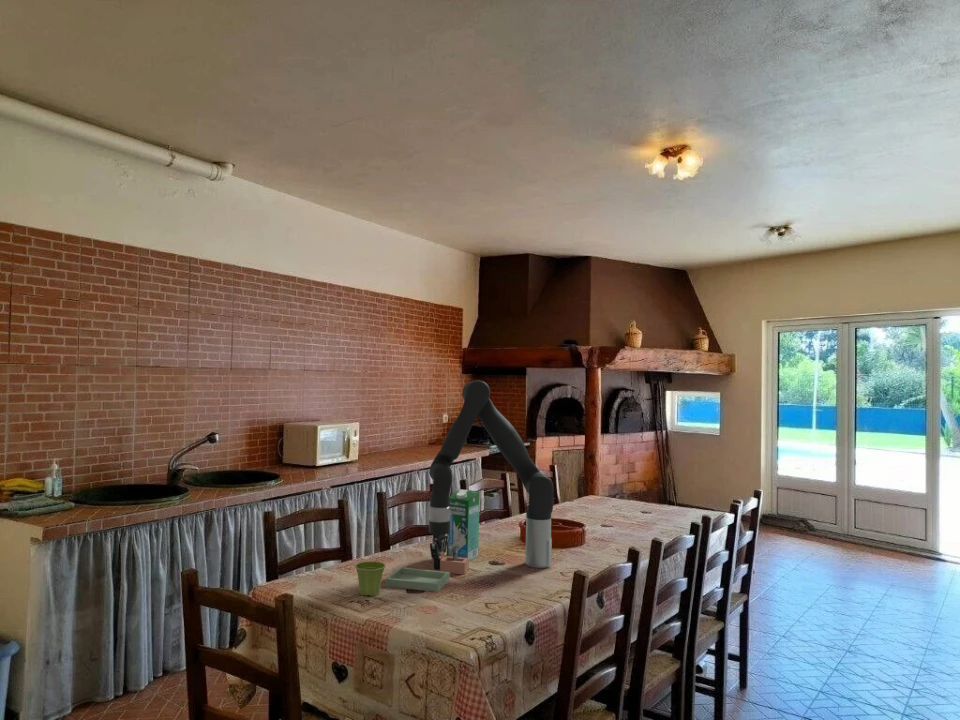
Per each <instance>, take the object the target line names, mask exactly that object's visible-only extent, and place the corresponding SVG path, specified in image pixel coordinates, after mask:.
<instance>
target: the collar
mask: <svg viewBox="0 0 960 720" xmlns="http://www.w3.org/2000/svg"><path fill="white" fill-rule="evenodd" d="M435 555H436V553H435ZM469 570H470V561H469V558H460V557H457V561H453V557H449V556H447V555H445V553H444V551H442V552H441V558H440V569H439V570H437V569H434V558H432V571H442V572H450V574H456V575H457V574H458V575H465V574H466V573H468V571H469Z"/></svg>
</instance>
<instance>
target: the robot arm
mask: <svg viewBox="0 0 960 720" xmlns="http://www.w3.org/2000/svg"><path fill="white" fill-rule="evenodd" d="M461 391H462V393H461V394H462V399H463V404H462V407H461V410H460V412H459V414H458V416H457V417H456V419H455V421H454V422H453V424H452V425H451V427H450V429H449V430H448V431H447V432H448V433H447V434H446V436H445V439H444V441H443V443H442V445H441V447H440V450H439V451H438V453H437V454H436V456H435V457H434V459H433V460H432V462H431V465H430V466H429V470H428V473H429V477H430V478H431V480H432V481H433V483H432V484H433V485H432V490H431V492H430V495H429V496H430V497H429V512H428V532H429V533H430V534H432V535H433V537H432V540H431V543H430V544H429V549H430V556H431V557H430V558H432V559H433V558H434V569H437V570H439V569H440V558H441V552H442V551H444V554H445V553H447V539H448V536H447V533H449V532H450V496H451V495H450V494H451V489H452V484H453V471H452V468H451V467H452V464H453V463H454V461H455V460H457V459H458V457H459V456H460V454H461V452H462V450H463V448H464V445H465V443H466V440H467V438H468V436H469V433H470V431H471V430H472V427H473V425H474V423H475V421H476V419H477V418H479V420H480V421H481V423H482V425H483V426H484V429H485V430H486V432H487V433H488V435H489V437H490V438H491V440H492V442H493V443H494V445H495V446H496V447H497V449H498V450H499V452H500V453H501V454H502V456H503V457H504V459H505V460H506V461H507V463H509V465H510V466H511V467H512V468H513V469H514V471H515V472H516V474H517V476H518V477H519V480H520V481H521V483H522V486H523V488H524V490H525V491H526V493H528V508H527V509H526V513H525V514H526V515H525V516H526V517H525V522H526V523H525V524H526V525H525V563H524V564H525V565H526V566H527V567H530V568H539V569H540V568H541V569H543V568H550V567H551V564H552V549H553V548H552V544H553V542H552V541H553V539H552V513H553V510H554V494H555V491H554V483H553V481H552V479H551V478H550V477H548V476H546V475H545V474H543V473H542V471H540V469H539V468H538V467H537V465H536V464H535V463H534V462H533V460H532V459H531V457H530V455H529V453H528V450H527V448H526V445H525V443H524V441H523V440H522V438H521V436H520V434H519V433H518V432H517V430H516V429H515V427H514V426H513V425H512V423H510V421H509V420H508V419H507V418H506V417H505V416H504V415H503V414H502V413H501V412H500V411H499V410H498V408H497V407H496V406H495V405H494V403H493V402H492V400H491V399H490V396H491V389H490V386H489V385H488V383H486V382H485V381H483V380H479V379H478V380H476V379H475V380H472V381H471V380H470V381H468V382H466V384H464V386H463V388H462V390H461ZM435 553H436V555H435ZM437 570H436V571H437Z"/></svg>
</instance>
